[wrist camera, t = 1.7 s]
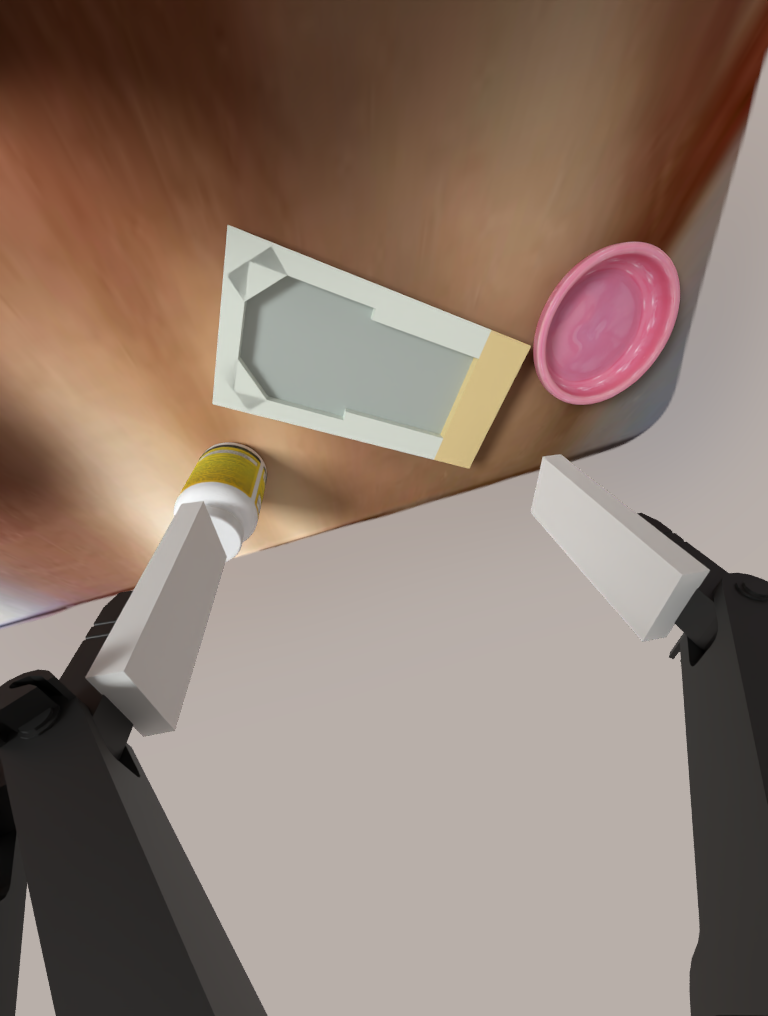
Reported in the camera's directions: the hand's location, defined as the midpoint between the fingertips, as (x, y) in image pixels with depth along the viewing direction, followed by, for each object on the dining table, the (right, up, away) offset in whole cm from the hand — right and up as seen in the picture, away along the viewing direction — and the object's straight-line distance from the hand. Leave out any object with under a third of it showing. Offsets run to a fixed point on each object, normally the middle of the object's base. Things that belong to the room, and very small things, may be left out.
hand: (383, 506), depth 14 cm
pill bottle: (-15, +4, +21) cm, 26 cm away
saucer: (+19, +17, +19) cm, 31 cm away
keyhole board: (-1, +12, +17) cm, 21 cm away
